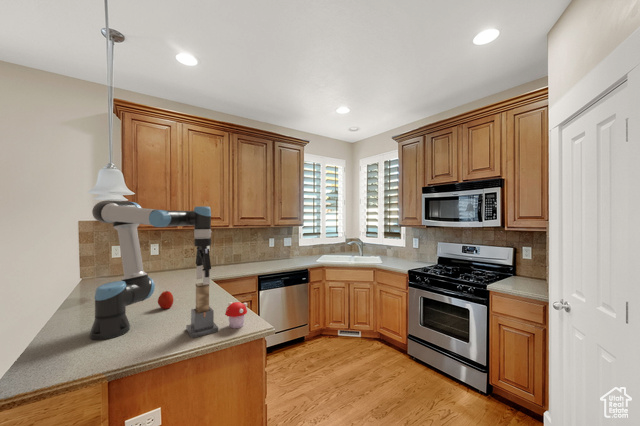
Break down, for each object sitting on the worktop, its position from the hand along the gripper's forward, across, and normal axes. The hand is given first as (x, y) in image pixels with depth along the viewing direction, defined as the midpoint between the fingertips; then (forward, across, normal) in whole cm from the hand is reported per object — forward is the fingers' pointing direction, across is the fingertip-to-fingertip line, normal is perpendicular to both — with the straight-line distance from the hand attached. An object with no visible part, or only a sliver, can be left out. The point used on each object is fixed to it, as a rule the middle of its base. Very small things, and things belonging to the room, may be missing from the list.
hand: (202, 281), depth 132 cm
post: (+22, 0, 0) cm, 22 cm away
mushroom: (+24, -4, -15) cm, 29 cm away
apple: (+24, +47, +10) cm, 54 cm away
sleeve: (+24, 0, 0) cm, 24 cm away
